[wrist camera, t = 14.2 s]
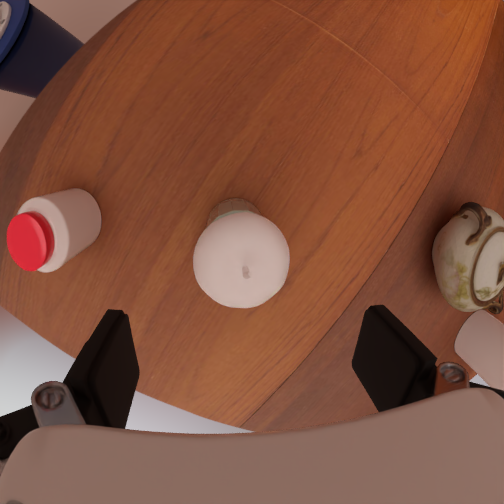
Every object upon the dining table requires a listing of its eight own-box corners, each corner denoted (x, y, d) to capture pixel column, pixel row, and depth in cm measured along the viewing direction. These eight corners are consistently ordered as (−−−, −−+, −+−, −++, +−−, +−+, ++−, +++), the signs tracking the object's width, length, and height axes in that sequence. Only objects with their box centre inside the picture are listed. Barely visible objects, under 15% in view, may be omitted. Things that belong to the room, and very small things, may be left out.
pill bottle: (82, 175, 29) (29, 184, 18) (112, 229, 31) (70, 258, 21) (43, 210, 29) (-10, 230, 19) (71, 259, 32) (26, 295, 21)
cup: (207, 252, 33) (202, 283, 25) (207, 197, 31) (201, 210, 23) (261, 253, 34) (275, 283, 25) (264, 198, 32) (279, 211, 23)
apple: (294, 228, 25) (325, 258, 17) (254, 296, 26) (267, 348, 18) (221, 190, 23) (220, 202, 15) (184, 263, 24) (169, 307, 17)
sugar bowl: (395, 223, 35) (474, 258, 20) (458, 168, 33) (535, 180, 19) (433, 317, 40) (487, 365, 26) (485, 264, 39) (542, 295, 25)
